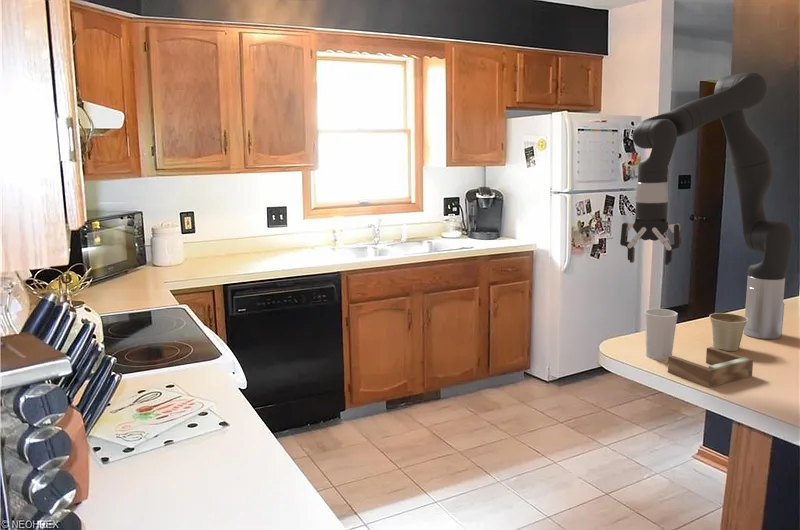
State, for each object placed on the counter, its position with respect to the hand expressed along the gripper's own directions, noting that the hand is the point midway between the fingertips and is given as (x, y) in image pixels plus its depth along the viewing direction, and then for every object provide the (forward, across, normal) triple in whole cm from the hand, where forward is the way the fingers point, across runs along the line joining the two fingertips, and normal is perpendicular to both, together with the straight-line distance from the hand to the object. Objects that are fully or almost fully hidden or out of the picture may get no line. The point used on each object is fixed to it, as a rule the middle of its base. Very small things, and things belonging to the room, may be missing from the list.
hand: (649, 263), depth 158 cm
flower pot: (+26, -18, -17) cm, 36 cm away
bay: (+25, -16, +7) cm, 30 cm away
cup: (+25, -3, -2) cm, 26 cm away
